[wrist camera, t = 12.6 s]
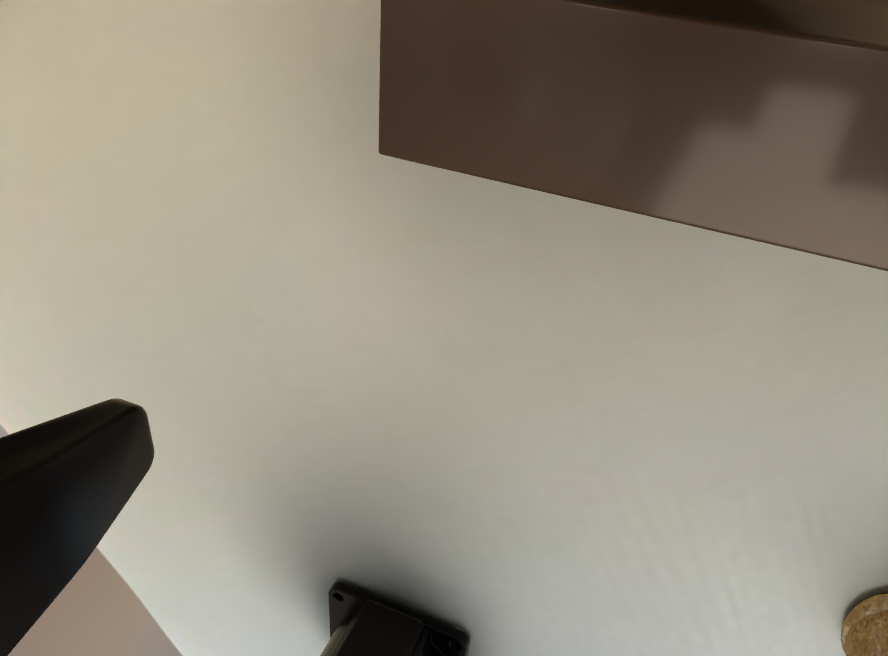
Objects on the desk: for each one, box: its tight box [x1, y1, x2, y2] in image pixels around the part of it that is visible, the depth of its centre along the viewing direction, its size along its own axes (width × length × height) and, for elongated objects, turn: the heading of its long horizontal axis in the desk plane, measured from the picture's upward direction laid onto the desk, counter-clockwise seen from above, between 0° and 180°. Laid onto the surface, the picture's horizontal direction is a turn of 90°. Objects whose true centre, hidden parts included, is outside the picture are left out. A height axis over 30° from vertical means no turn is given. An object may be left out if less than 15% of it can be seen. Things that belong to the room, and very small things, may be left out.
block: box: [379, 0, 888, 271], centre depth 15 cm, size 4×10×5 cm, turn 86°
